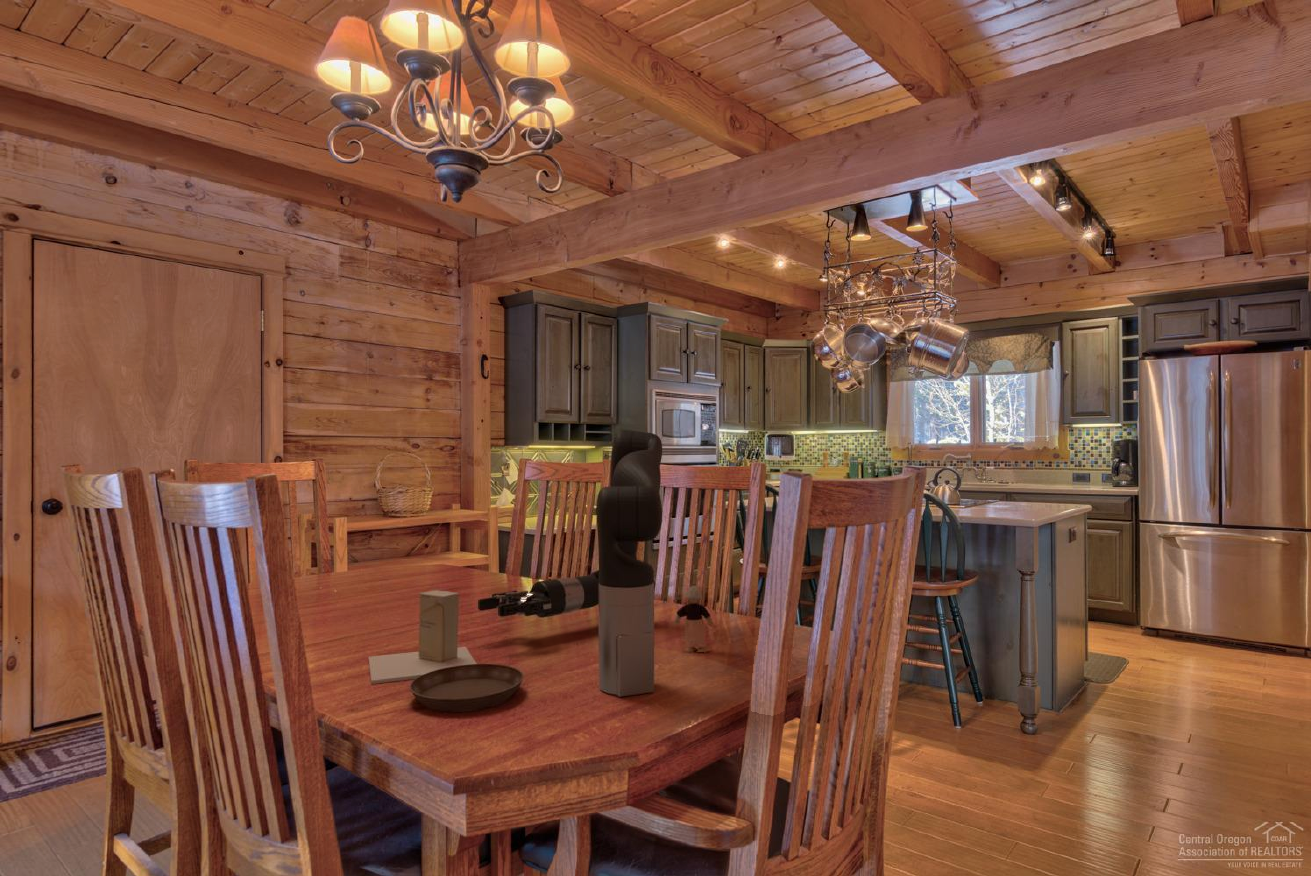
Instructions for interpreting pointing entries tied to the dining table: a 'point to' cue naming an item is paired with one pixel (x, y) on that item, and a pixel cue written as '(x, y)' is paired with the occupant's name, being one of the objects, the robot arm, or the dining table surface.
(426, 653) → the skincare box
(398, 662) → the mat
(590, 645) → the dining table surface
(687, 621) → the grandmother figurine
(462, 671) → the plant saucer
